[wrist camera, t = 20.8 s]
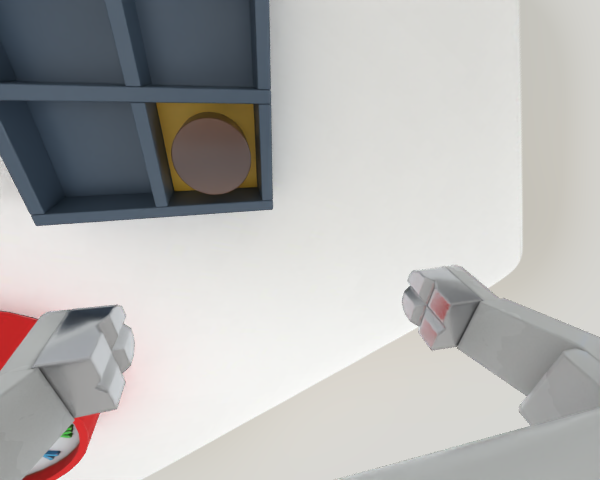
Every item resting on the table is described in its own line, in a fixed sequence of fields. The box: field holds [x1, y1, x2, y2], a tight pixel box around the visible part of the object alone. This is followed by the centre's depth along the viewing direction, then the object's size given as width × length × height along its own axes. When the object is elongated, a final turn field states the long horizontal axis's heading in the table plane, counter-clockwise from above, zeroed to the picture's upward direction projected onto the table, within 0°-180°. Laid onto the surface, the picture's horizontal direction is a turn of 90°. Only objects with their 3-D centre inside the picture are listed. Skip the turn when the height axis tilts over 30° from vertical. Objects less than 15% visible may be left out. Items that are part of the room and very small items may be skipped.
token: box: [171, 112, 251, 195], centre depth 20 cm, size 5×5×3 cm
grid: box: [0, 0, 273, 226], centre depth 17 cm, size 15×15×4 cm
